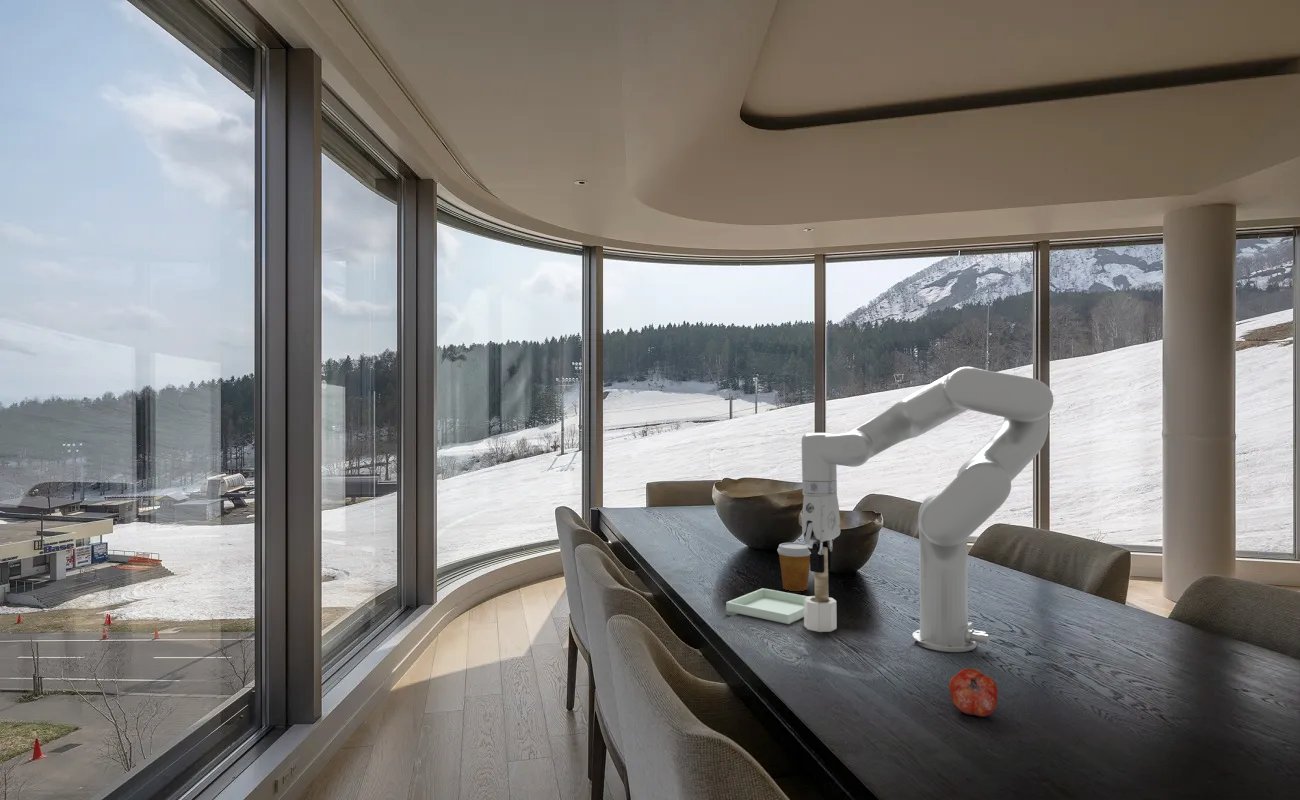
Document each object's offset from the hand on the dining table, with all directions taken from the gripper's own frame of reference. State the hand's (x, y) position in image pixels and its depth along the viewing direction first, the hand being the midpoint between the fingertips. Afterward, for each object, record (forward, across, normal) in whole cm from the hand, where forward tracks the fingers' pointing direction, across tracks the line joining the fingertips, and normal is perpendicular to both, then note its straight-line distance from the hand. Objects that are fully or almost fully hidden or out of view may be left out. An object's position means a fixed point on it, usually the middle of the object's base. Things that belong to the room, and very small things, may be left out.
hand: (821, 569), depth 162 cm
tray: (+14, +6, +15) cm, 21 cm away
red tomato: (+14, -23, -39) cm, 47 cm away
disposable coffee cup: (+14, +29, +22) cm, 39 cm away
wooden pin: (+7, 0, 0) cm, 7 cm away
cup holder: (+14, 0, 0) cm, 14 cm away
